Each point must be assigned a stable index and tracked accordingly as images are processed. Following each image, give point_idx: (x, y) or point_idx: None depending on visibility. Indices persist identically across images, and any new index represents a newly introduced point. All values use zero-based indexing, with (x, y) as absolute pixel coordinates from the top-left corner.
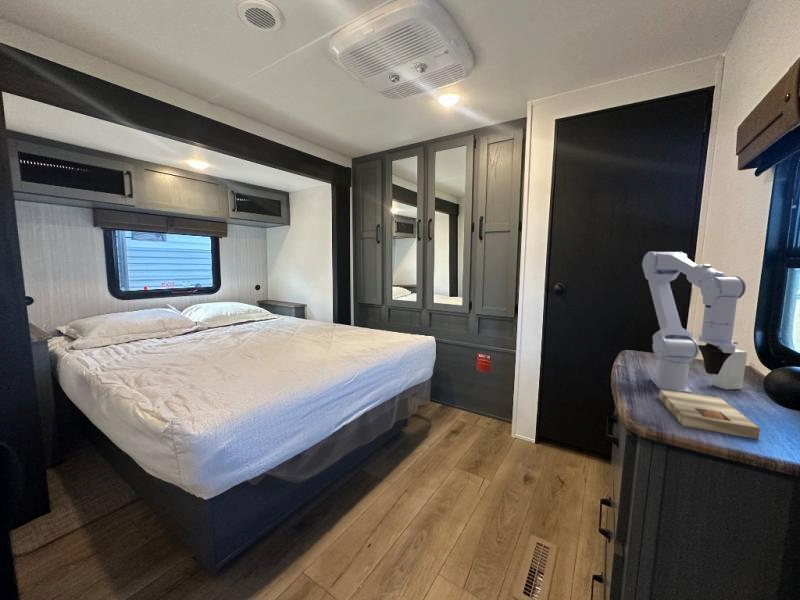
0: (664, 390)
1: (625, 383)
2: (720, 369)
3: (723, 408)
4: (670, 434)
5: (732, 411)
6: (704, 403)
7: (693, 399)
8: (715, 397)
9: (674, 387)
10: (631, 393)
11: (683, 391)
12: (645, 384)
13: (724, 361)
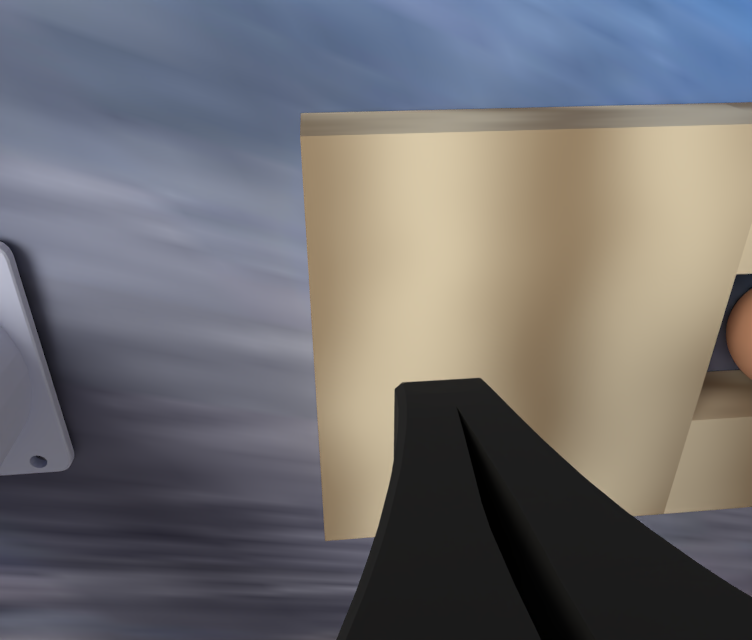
0: (341, 519)
1: (97, 620)
2: (528, 425)
3: (641, 225)
4: None
5: (698, 177)
6: (560, 331)
7: (487, 382)
8: (321, 183)
9: (22, 385)
10: (326, 602)
11: (29, 310)
12: (4, 522)
13: (680, 555)
